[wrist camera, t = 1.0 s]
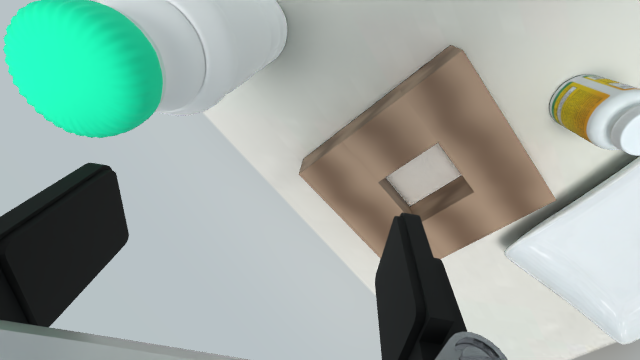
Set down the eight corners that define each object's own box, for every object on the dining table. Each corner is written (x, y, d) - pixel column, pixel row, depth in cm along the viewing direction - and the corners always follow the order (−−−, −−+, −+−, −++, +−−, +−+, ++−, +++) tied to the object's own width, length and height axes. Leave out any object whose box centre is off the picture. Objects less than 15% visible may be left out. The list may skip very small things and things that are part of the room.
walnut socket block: (450, 45, 32) (463, 50, 28) (537, 182, 38) (556, 200, 35) (303, 159, 39) (298, 174, 36) (396, 258, 46) (400, 279, 42)
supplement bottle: (601, 64, 32) (692, 86, 23) (607, 111, 34) (693, 146, 25) (542, 89, 33) (608, 118, 25) (552, 132, 35) (615, 173, 27)
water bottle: (299, 8, 31) (187, 21, 10) (274, 75, 35) (149, 199, 13) (231, -27, 30) (-68, -102, 9) (212, 46, 34) (-38, 126, 12)
